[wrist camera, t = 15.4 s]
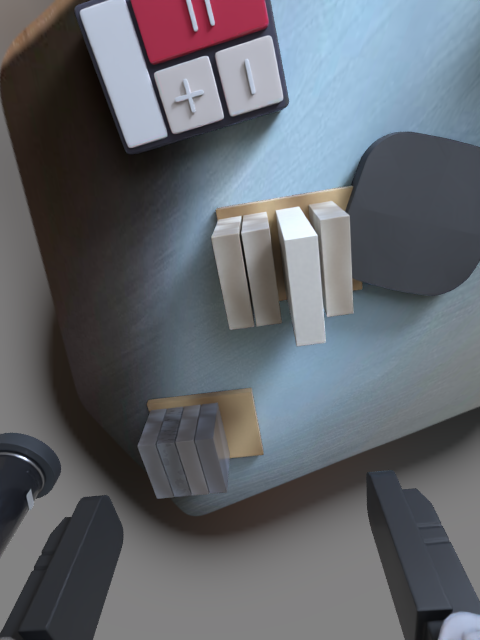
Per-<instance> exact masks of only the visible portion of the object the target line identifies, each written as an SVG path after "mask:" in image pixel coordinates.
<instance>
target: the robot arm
mask: <svg viewBox="0 0 480 640" xmlns="http://www.w3.org/2000/svg"><path fill="white" fill-rule="evenodd" d="M45 483H46V475H45V472H44V470H43V468H42V467H41V466H40V464H39V463H38V462H36V461H35V460H34V459H32V458H31V457H29V456H27V455H25V454H23V453H20V452H17V451H12V450H0V557H1V556H2V554H3V552H4V551H5V549H6V547H7V545H8V544H9V542H10V541H11V539H12V537H13V536H14V534H15V532H16V531H17V529H18V527H19V526H20V524H21V522H22V521H23V519H24V517H25V515H26V514H27V512H28V510H31V508H32V507H33V505H34V500H35V499H36V497H37V495H38V494H39V493H40V491H41V490H42V488H43V487H44V485H45ZM367 510H368V517H369V522H370V526H371V530H372V533H373V536H374V539H375V543H376V546H377V549H378V553H379V556H380V559H381V562H382V566H383V569H384V572H385V576H386V579H387V582H388V585H389V589H390V592H391V595H392V598H393V602H394V605H395V608H396V612H397V615H398V618H399V622H400V625H401V628H402V631H403V635H404V638H405V640H480V601H479V599H478V597H477V595H476V593H475V591H474V589H473V587H472V585H471V583H470V581H469V579H468V577H467V575H466V573H465V571H464V568H463V566H462V564H461V562H460V560H459V558H458V556H457V554H456V552H455V550H454V548H453V546H452V544H451V542H449V538H448V536H447V534H446V532H445V530H444V528H443V526H442V525H441V522H440V520H439V517H438V516H437V513H436V511H435V510H434V507H433V505H432V504H431V503H430V501H429V500H427V498H426V497H425V496H423V495H422V494H421V493H420V492H419V491H418V490H417V489H416V488H415V489H403V490H402V488H401V486H400V484H399V481H398V479H397V476H396V474H395V472H394V471H393V470H389V471H378V472H368V473H367ZM122 544H123V527H122V524H121V522H120V520H119V518H118V515H117V513H116V511H115V508H114V506H113V504H112V502H111V500H110V498H109V496H107V495H104V496H103V495H102V496H92V497H83V498H82V499H81V500H80V501H79V503H78V504H77V506H76V509H75V511H74V513H73V515H72V517H65V518H64V519H63V520H62V522H61V523H60V524H59V525H58V526H57V527H56V528H55V530H54V531H53V532H52V533H51V534H50V536H49V538H48V541H47V542H46V544H45V546H44V548H43V550H42V555H41V556H39V558H38V560H37V562H36V564H35V566H34V571H32V572H31V574H30V576H29V578H28V580H27V582H26V584H25V586H24V588H23V590H22V592H21V594H20V596H19V598H18V600H17V602H16V604H15V606H14V608H13V610H12V612H11V614H10V616H9V618H8V620H7V622H6V624H5V626H4V628H3V630H2V631H1V633H0V640H93V637H94V634H95V631H96V628H97V625H98V621H99V618H100V615H101V612H102V609H103V605H104V602H105V599H106V596H107V593H108V590H109V586H110V583H111V580H112V577H113V574H114V570H115V567H116V564H117V561H118V558H119V555H120V551H121V548H122Z"/></svg>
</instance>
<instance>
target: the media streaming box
mask: <svg viewBox="0 0 480 640" xmlns="http://www.w3.org/2000/svg"><path fill="white" fill-rule="evenodd" d="M351 186H353V190H352V192H351V195H350V198H349V201H348V204H347V207H346V210H345V212H346V213H347V214H348V215H349V216H350V238H351V264H352V278H353V279H355V280H358V281H361V282H365V283H368V284H372V285H375V286H379V287H383V288H387V289H391V290H396V291H401V292H406V293H412V294H419V295H427V296H435V295H440V294H444V293H447V292H449V291H451V290H453V289H455V288H456V287H458V286H459V285H461V284H462V283H463V282H464V281H466V280H467V279H468V278H469V276H470V275H471V274H472V272H473V271H474V269H475V268H476V266H477V265H478V263H479V261H480V147H478V146H474V145H471V144H467V143H463V142H459V141H455V140H451V139H446V138H442V137H437V136H432V135H426V134H420V133H414V132H395V133H391V134H388V135H386V136H383V137H381V138H380V139H378V140H377V141H375V142H374V143H373V144H372V145H371V146H370V147H369V148H368V149H367V150H366V152H365V153H364V155H363V156H362V158H361V161H360V163H359V166H358V168H357V171H356V174H355V176H354V179H353V182H352V185H351Z"/></svg>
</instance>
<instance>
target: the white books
mask: <svg viewBox="0 0 480 640" xmlns="http://www.w3.org/2000/svg"><path fill="white" fill-rule="evenodd" d="M352 190H353V186H346V187H340V188H334V189H328V190H322V191H316V192H310V193H304V194H298V195H292V196H286V197H280V198H274V199H268V200H262V201H256V202H250V203H244V204H238V205H232V206H226V207H221V208H216V216H217V221H218V222H217V224H216V227H215V229H214V232H213V234H212V237H211V241H212V245H213V250H214V255H215V260H216V265H217V270H218V275H219V280H220V285H221V290H222V295H223V300H224V305H225V310H226V315H227V320H228V325H229V329H230V330H234V329H242V328H249V327H254V313H255V320H256V326H265V325H272V324H280V323H282V319H281V312H280V304H279V301H282V300H287V296H286V291H285V283H284V275H283V267H282V259H281V251H280V243H279V235H278V227H277V219H276V210H281V209H287V208H293V207H300V209H301V210H302V212H303V213H304V215H305V217H306V218H307V220H308V221H309V223H310V225H311V226H312V228H313V229H314V231H315V232H316V234H317V236H318V248H319V261H320V274H321V286H322V299H323V307H324V310H325V312H326V315H327V317H332V316H339V315H347V314H353V291H354V290H361V289H362V282H361V281H358V280H355V279H353V278H352V264H351V238H350V216H349V215H348V214H347V213H346V212H345V210H346V207H347V204H348V201H349V198H350V195H351V192H352Z"/></svg>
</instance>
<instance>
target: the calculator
mask: <svg viewBox="0 0 480 640" xmlns="http://www.w3.org/2000/svg"><path fill="white" fill-rule="evenodd" d="M74 13H75V16H76V19H77V22H78V25H79V27H80V30H81V33H82V35H83V38H84V41H85V44H86V46H87V49H88V52H89V54H90V57H91V60H92V63H93V65H94V68H95V71H96V73H97V76H98V79H99V82H100V84H101V87H102V90H103V93H104V95H105V98H106V101H107V103H108V106H109V109H110V112H111V114H112V117H113V120H114V122H115V125H116V128H117V131H118V133H119V136H120V139H121V141H122V144H123V147H124V149H125V152H126V153H127V154H138V153H142V152H146V151H149V150H152V149H155V148H159V147H162V146H165V145H168V144H172V143H175V142H178V141H181V140H184V139H188V138H191V137H194V136H197V135H201V134H204V133H207V132H211V131H214V130H217V129H220V128H224V127H227V126H230V125H234V124H237V123H240V122H243V121H247V120H250V119H253V118H257V117H260V116H263V115H266V114H270V113H273V112H276V111H280V110H282V109H284V108H285V107H287V105H288V104H289V98H288V93H287V87H286V82H285V76H284V71H283V66H282V60H281V55H280V49H279V44H278V39H277V33H276V28H275V22H274V17H273V12H272V6H271V1H270V0H91V1H88V2H85V3H82V4H80V5H77V6H76V7H75V9H74Z"/></svg>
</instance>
